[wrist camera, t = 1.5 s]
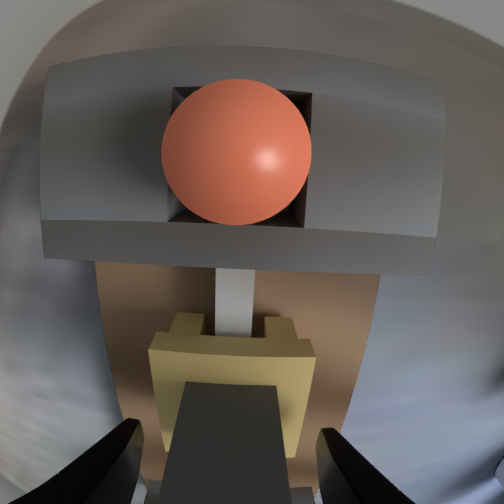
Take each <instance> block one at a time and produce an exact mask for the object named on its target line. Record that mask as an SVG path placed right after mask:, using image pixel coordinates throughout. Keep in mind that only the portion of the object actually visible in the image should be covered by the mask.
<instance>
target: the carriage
mask: <svg viewBox="0 0 504 504" xmlns="http://www.w3.org/2000/svg"><path fill="white" fill-rule="evenodd" d="M148 352H149V360H150V367H151V374H152V381H153V388H154V394H155V400H156V406H157V412H158V417H159V422H160V428H161V433H162V438H163V442H164V447H165V451H167V452H169V453H168V457H167V461H166V466H165V470H164V475H163V479H162V483H161V488H160V493H159V497H158V502H157V504H292V503H291V495H290V487H289V479H288V471H287V463H286V458H291V457H295V454H296V450H297V446H298V442H299V437H300V433H301V429H302V425H303V420H304V416H305V411H306V407H307V402H308V397H309V392H310V387H311V383H312V377H313V372H314V367H315V362H316V355H315V352H314V349H313V346H312V343H311V340H310V339H298V337H297V334H296V330H295V327H294V323H293V320H292V317H265V318H264V331H263V338H248V337H225V336H208V335H205V329H204V314H200V313H185V312H177V314H176V317H175V319H174V321H173V324H172V326H171V328H170V330H169V333H168V332H156V334H155V336H154V338H153V340H152V342H151V344H150V346H149V348H148Z"/></svg>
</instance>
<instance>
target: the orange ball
mask: <svg viewBox="0 0 504 504" xmlns="http://www.w3.org/2000/svg"><path fill="white" fill-rule="evenodd" d="M161 154H162V165H163V170H164V173H165V177H166V179H167V181H168V184H169V186H170V188H171V189H172V191H173V192H174V194H175V195H176V197H177V198H178V199H179V200H180V202H181V203H183V204H184V205H185V206H186V207H187V208H188V209H189V210H191V211H192V212H194V213H195V214H197V215H198V216H200V217H202V218H204V219H207V220H209V221H212V222H215V223H219V224H225V225H247V224H253V223H256V222H260V221H263V220H265V219H267V218H270V217H272V216H273V215H275V214H277V213H278V212H280V211H281V210H282V209H284V208H285V207H286V206H287V205H288V204H289V203H290V202H291V201H292V200H293V199H294V198H295V197H296V195H297V194H298V193H299V191H300V190H301V188H302V186H303V185H304V183H305V180H306V178H307V175H308V172H309V168H310V164H311V156H312V154H311V140H310V135H309V131H308V128H307V125H306V123H305V121H304V118H303V117H302V115H301V113H300V112H299V110H298V109H297V108H296V106H295V105H294V104H293V103H292V102H291V101H290V100H289V99H288V98H287V97H286V96H285V95H283V94H282V93H280V92H279V91H278V90H276V89H274V88H272V87H270V86H268V85H266V84H263V83H260V82H257V81H252V80H246V79H228V80H222V81H218V82H214V83H211V84H208V85H206V86H204V87H202V88H200V89H198V90H197V91H195V92H193V93H192V94H191V95H190V96H188V97H187V98H186V99H185V100H184V101H183V102H182V103H181V104H180V105H179V106H178V107H177V109H176V110H175V111H174V113H173V114H172V116H171V118H170V120H169V122H168V124H167V126H166V129H165V132H164V136H163V140H162V149H161Z"/></svg>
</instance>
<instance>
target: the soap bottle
mask: <svg viewBox="0 0 504 504" xmlns="http://www.w3.org/2000/svg"><path fill="white" fill-rule="evenodd" d="M495 476H496V477H497V479H498V481H499V482H500V484H501V485H502V487H503V489H504V458H503V459H502V461H501V462H500V464H499V465H498V467H497V469H496V472H495Z"/></svg>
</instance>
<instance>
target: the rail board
mask: <svg viewBox="0 0 504 504" xmlns="http://www.w3.org/2000/svg"><path fill="white" fill-rule="evenodd" d="M228 79H246V80H252V81H257V82H260V83H263V84H266V85H268V86H270V87H272V88H274V89H276V90H278V91H279V92H280V93H282V94H283V95H285V96H286V97H287V98H288V99H289V100H290V101H291V102H292V103H293V104H294V105H295V106H296V108H297V109H298V110H299V112H300V113H301V115H302V117H303V118H304V121H305V123H306V125H307V128H308V131H309V135H310V140H311V154H312V156H311V164H310V168H309V172H308V175H307V178H306V180H305V183H304V185H303V186H302V188H301V190H300V191H299V193H298V194H297V195H296V197H295V198H294V199H293V200H292V201H291V202H290V203H289V204H288V205H287V206H286V207H285V208H284V209H282V210H281V211H280V212H278V213H277V214H275V215H273V216H272V217H270V218H267V219H265V220H263V221H260V222H256V223H253V224H247V225H225V224H219V223H215V222H212V221H209V220H207V219H204V218H202V217H200V216H198V215H197V214H195V213H194V212H192V211H191V210H189V209H188V208H187V207H186V206H185V205H184V204H183V203H181V202H180V200H179V199H178V198H177V197H176V195H175V194H174V192H173V191H172V189H171V188H170V186H169V184H168V181H167V179H166V177H165V173H164V170H163V165H162V154H161V149H162V140H163V136H164V132H165V129H166V126H167V124H168V122H169V120H170V118H171V116H172V114H173V113H174V111H175V110H176V109H177V107H178V106H179V105H180V104H181V103H182V102H183V101H184V100H185V99H186V98H187V97H188V96H190V95H191V94H192V93H193V92H195V91H197V90H198V89H200V88H202V87H204V86H206V85H208V84H211V83H214V82H218V81H222V80H228ZM445 140H446V97H445V84H444V83H441V82H438V81H435V80H432V79H429V78H426V77H422V76H419V75H416V74H413V73H409V72H406V71H402V70H398V69H394V68H391V67H387V66H383V65H378V64H374V63H370V62H365V61H360V60H355V59H350V58H345V57H339V56H334V55H327V54H321V53H314V52H306V51H298V50H289V49H278V48H265V47H248V46H186V47H168V48H156V49H145V50H136V51H128V52H121V53H114V54H108V55H102V56H96V57H91V58H85V59H81V60H76V61H71V62H67V63H62V64H58V65H54V66H50V67H48V72H47V78H46V85H45V92H44V101H43V110H42V121H41V135H40V161H39V188H40V214H41V229H42V240H43V250H44V258H56V259H71V260H85V261H95V270H96V279H97V288H98V296H99V304H100V311H101V318H102V324H103V330H104V336H105V342H106V347H107V352H108V357H109V362H110V367H111V372H112V376H113V381H114V385H115V389H116V393H117V397H118V401H119V405H120V409H121V413H122V416H123V420H125V419H126V418H134V419H139V420H140V422H141V425H142V429H143V433H144V446H143V451H142V457H141V463H140V469H139V470H140V473H141V476H142V478H143V481H144V484H145V486H146V489H147V493H146V497H145V501H144V504H157V502H158V497H159V493H160V488H161V483H162V479H163V475H164V470H165V466H166V461H167V457H168V453H169V452H167V451H165V447H164V442H163V438H162V433H161V428H160V422H159V417H158V412H157V406H156V400H155V394H154V388H153V381H152V374H151V367H150V360H149V352H148V348H149V346H150V344H151V342H152V340H153V338H154V336H155V334H156V332H168V333H169V330H170V328H171V326H172V324H173V321H174V319H175V317H176V314H177V312H185V313H200V314H204V329H205V335H208V336H225V337H248V338H263V331H264V318H265V317H292V320H293V323H294V327H295V330H296V334H297V337H298V339H310V340H311V343H312V346H313V349H314V352H315V355H316V362H315V367H314V372H313V377H312V383H311V387H310V392H309V397H308V402H307V407H306V411H305V416H304V420H303V425H302V429H301V433H300V437H299V442H298V446H297V450H296V454H295V457H291V458H286V463H287V471H288V479H289V487H290V495H291V503H292V504H315V501H314V498H315V495H316V493H317V491H318V488H319V479H318V469H317V459H316V442H317V438H318V435H319V431H320V429H321V428H328V427H333V428H335V429H336V430H337V431H338V432H339V433H340V431H341V428H342V425H343V422H344V419H345V416H346V413H347V410H348V407H349V403H350V400H351V397H352V393H353V390H354V387H355V383H356V380H357V376H358V373H359V369H360V365H361V361H362V358H363V354H364V350H365V346H366V342H367V338H368V333H369V329H370V325H371V320H372V316H373V311H374V306H375V301H376V296H377V291H378V286H379V280H380V275H381V274H392V275H429V274H430V269H431V264H432V259H433V253H434V247H435V242H436V235H437V229H438V222H439V214H440V206H441V198H442V188H443V176H444V162H445Z"/></svg>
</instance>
